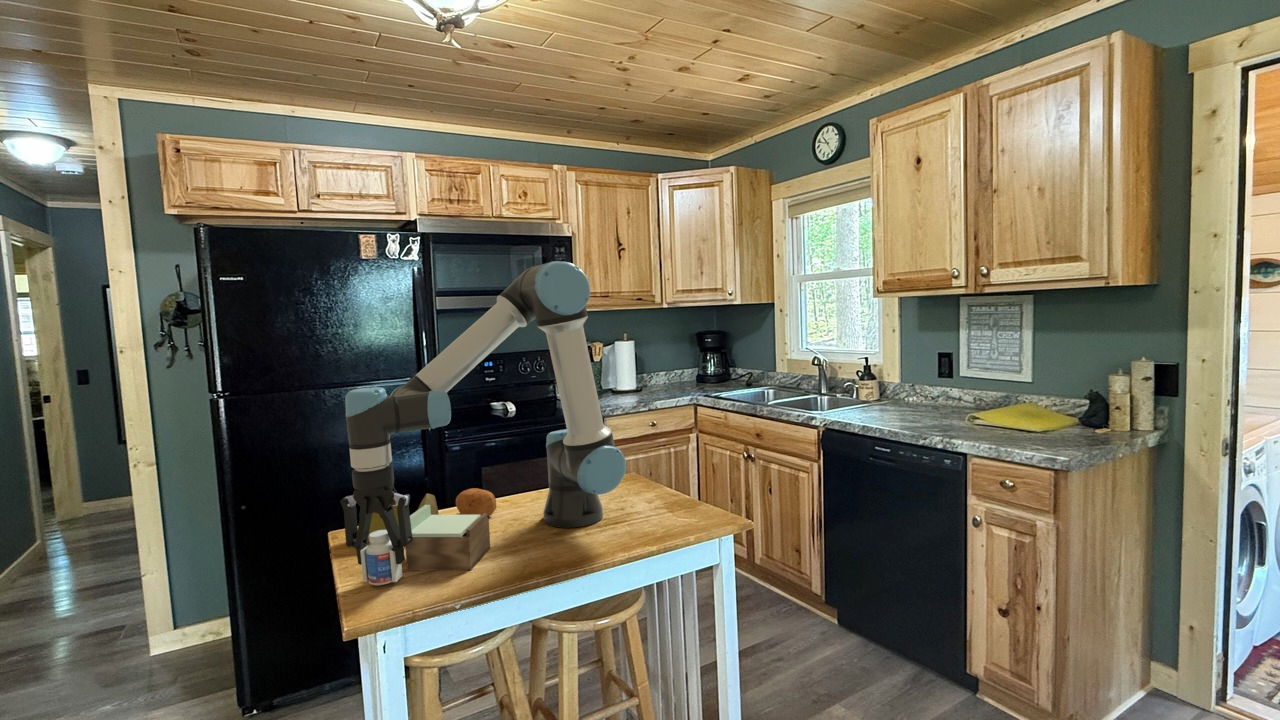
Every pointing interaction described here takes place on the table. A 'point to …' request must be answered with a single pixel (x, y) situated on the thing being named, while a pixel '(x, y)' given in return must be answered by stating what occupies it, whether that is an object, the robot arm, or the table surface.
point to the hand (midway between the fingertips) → (383, 578)
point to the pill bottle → (379, 558)
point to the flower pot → (381, 520)
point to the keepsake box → (450, 549)
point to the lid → (439, 524)
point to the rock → (430, 503)
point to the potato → (476, 502)
